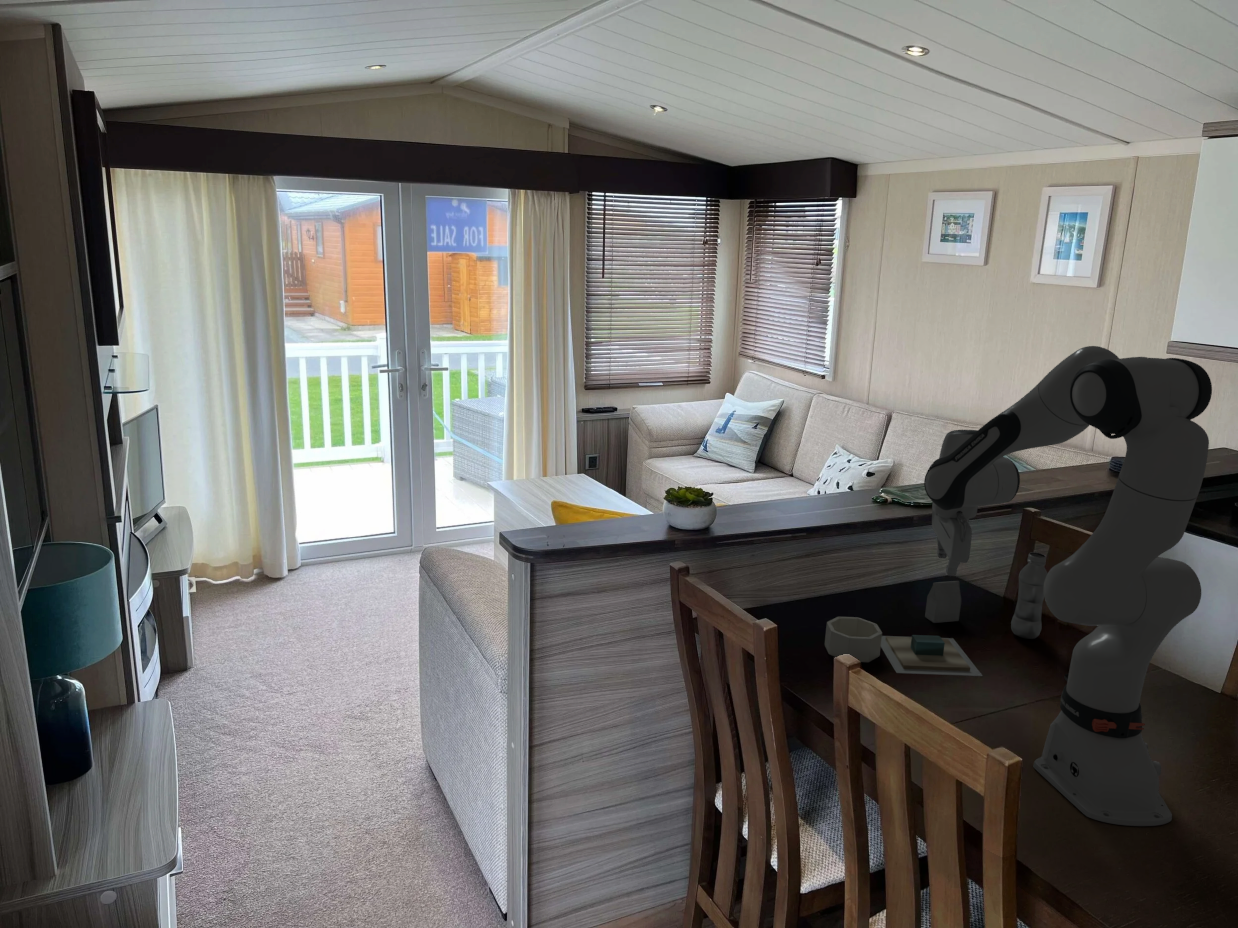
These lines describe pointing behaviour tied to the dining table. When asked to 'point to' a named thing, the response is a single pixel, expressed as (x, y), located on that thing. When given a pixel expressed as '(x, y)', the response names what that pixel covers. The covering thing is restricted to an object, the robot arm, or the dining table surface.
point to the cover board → (926, 660)
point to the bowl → (853, 638)
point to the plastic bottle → (1030, 597)
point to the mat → (899, 669)
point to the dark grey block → (943, 602)
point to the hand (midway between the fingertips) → (946, 565)
